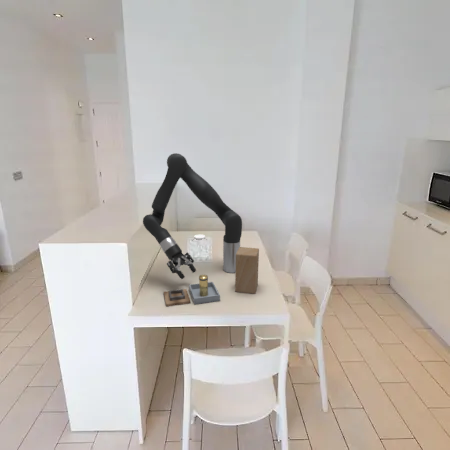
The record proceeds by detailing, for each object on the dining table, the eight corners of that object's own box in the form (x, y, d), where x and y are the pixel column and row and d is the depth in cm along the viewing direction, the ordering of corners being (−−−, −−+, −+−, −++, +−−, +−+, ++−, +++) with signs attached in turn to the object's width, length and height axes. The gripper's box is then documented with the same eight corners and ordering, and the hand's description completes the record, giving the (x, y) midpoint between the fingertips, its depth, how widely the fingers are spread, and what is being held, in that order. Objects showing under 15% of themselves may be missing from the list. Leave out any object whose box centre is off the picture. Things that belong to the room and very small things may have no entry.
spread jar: (196, 257, 205) (195, 239, 202) (187, 251, 214) (186, 234, 210) (212, 253, 212) (212, 235, 208) (202, 247, 220) (202, 231, 217)
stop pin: (207, 291, 163) (206, 274, 160) (209, 295, 159) (208, 277, 156) (198, 293, 161) (198, 275, 158) (200, 297, 158) (200, 278, 155)
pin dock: (186, 291, 164) (186, 286, 164) (190, 303, 153) (190, 298, 152) (163, 293, 161) (163, 288, 161) (166, 306, 150) (166, 301, 150)
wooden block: (257, 284, 171) (259, 248, 165) (255, 294, 162) (256, 255, 156) (238, 282, 173) (239, 246, 167) (235, 292, 164) (235, 253, 158)
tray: (212, 287, 168) (212, 281, 167) (220, 300, 155) (220, 295, 154) (189, 290, 165) (189, 284, 164) (194, 304, 152) (194, 298, 151)
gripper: (164, 248, 157) (183, 276, 155) (184, 240, 169) (202, 266, 166) (156, 256, 162) (175, 284, 159) (176, 247, 173) (194, 273, 170)
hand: (189, 275), depth 163 cm, fingers open, 8 cm apart
